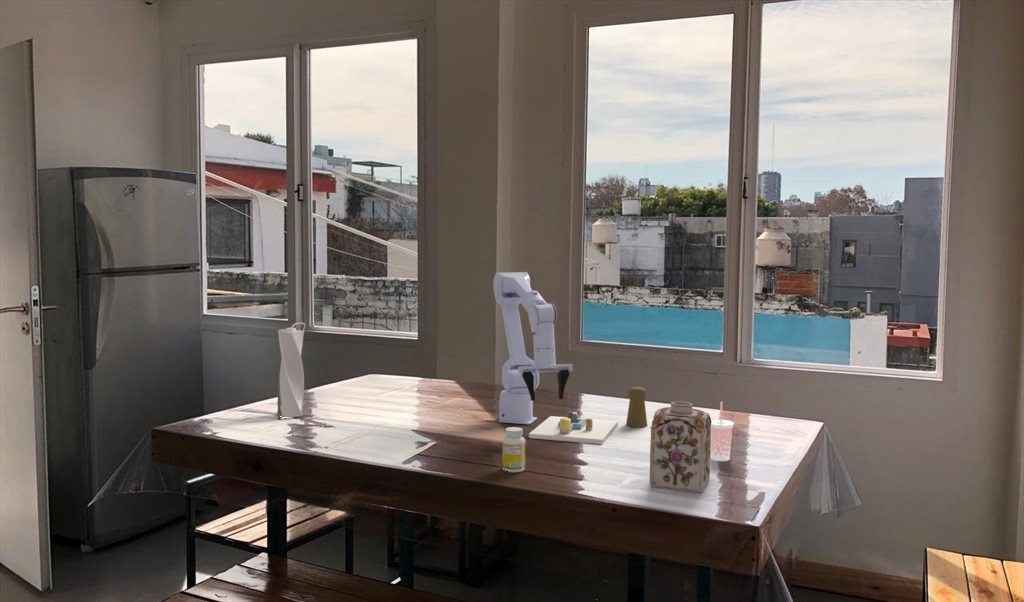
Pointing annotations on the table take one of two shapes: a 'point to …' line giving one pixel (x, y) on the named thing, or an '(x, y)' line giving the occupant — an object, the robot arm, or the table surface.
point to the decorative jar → (680, 448)
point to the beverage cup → (721, 438)
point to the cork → (637, 408)
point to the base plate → (574, 431)
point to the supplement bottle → (513, 450)
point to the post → (572, 416)
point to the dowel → (589, 424)
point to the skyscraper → (291, 373)
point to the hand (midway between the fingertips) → (546, 399)
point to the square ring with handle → (570, 424)
